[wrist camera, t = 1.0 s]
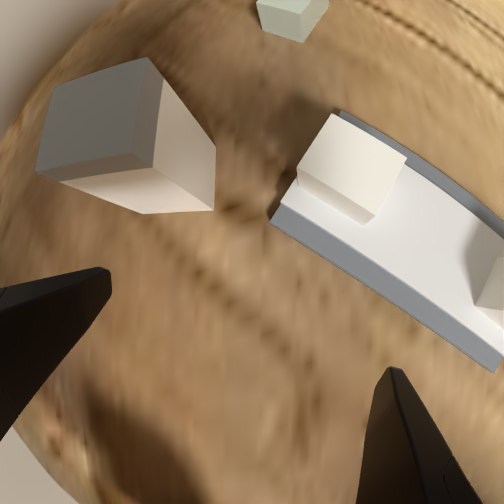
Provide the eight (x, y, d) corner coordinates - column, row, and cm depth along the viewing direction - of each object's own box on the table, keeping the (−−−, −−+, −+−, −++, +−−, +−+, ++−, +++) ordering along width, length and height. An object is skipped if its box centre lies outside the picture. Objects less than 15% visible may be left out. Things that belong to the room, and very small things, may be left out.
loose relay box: (302, 44, 24) (300, 14, 20) (262, 31, 24) (255, 2, 21) (329, 8, 24) (329, -21, 20) (291, -3, 24) (288, -31, 20)
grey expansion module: (214, 210, 24) (131, 152, 12) (142, 214, 25) (34, 172, 13) (216, 147, 24) (147, 56, 12) (147, 155, 25) (54, 87, 13)
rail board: (488, 370, 19) (524, 389, 14) (270, 224, 23) (258, 208, 17) (539, 263, 19) (580, 259, 13) (340, 116, 23) (346, 75, 17)
